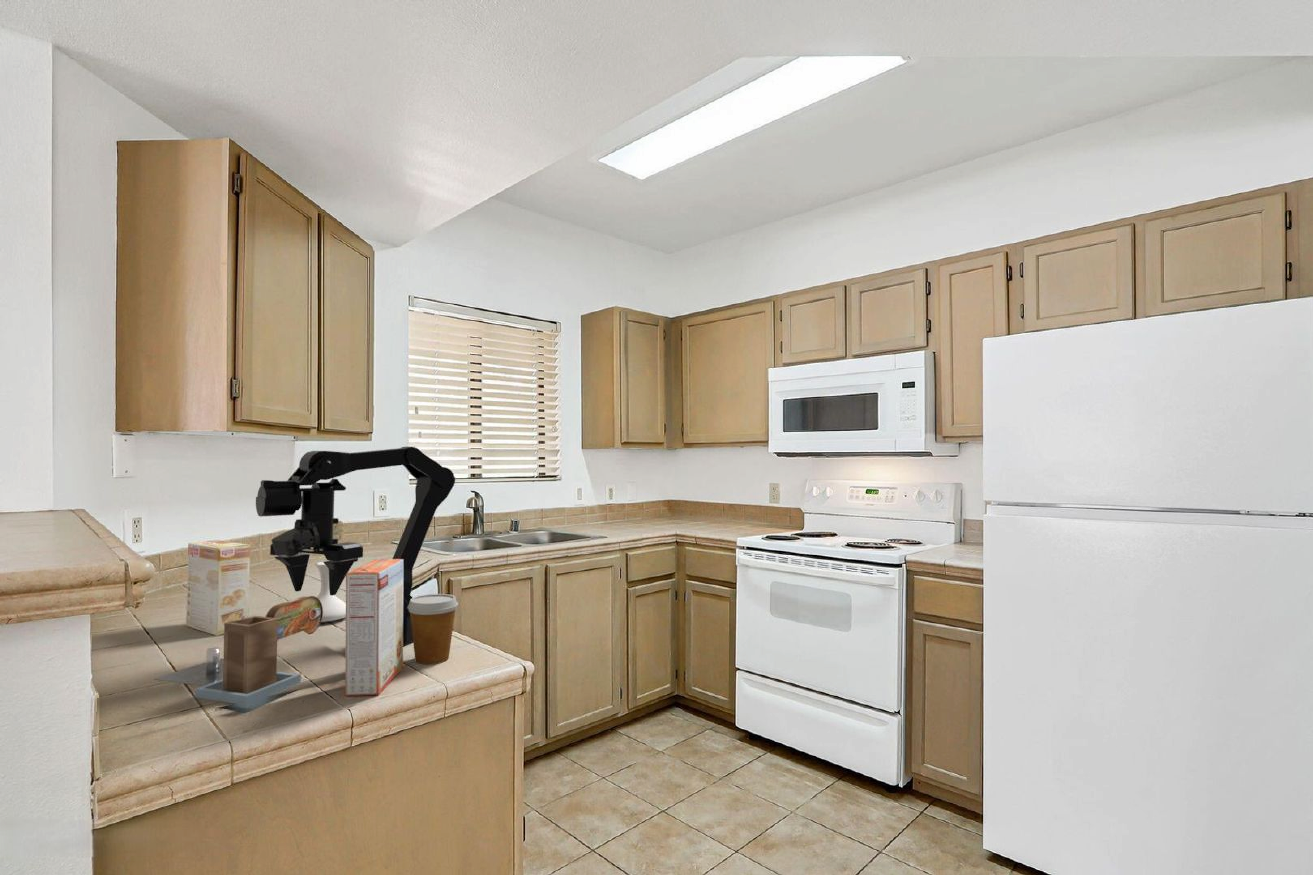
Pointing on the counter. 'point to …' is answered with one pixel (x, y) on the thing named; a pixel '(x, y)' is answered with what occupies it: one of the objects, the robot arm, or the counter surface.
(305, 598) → the tin
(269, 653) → the walnut collar
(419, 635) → the disposable coffee cup
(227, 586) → the coffeecake box
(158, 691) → the counter surface
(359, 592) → the cracker box
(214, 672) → the plate
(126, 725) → the counter surface
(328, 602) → the flower in vase
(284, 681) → the slate tray
